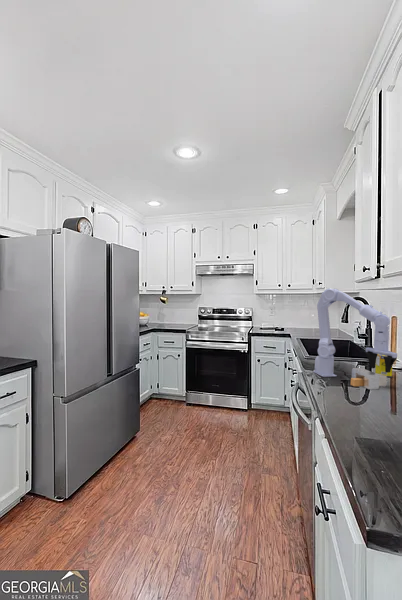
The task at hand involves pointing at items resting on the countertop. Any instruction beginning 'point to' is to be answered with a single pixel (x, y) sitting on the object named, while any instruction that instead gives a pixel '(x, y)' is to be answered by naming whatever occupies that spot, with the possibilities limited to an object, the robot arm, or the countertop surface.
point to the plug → (361, 381)
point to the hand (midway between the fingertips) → (380, 370)
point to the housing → (367, 377)
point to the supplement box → (382, 366)
